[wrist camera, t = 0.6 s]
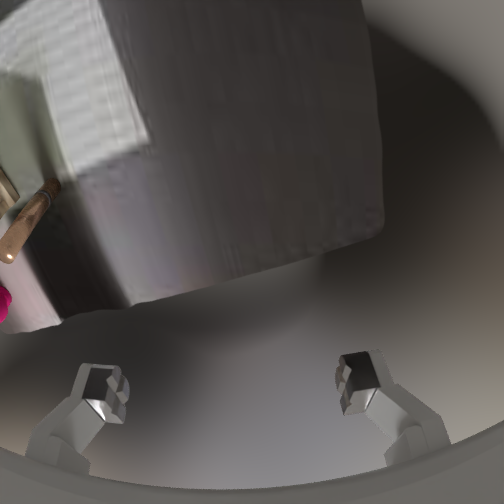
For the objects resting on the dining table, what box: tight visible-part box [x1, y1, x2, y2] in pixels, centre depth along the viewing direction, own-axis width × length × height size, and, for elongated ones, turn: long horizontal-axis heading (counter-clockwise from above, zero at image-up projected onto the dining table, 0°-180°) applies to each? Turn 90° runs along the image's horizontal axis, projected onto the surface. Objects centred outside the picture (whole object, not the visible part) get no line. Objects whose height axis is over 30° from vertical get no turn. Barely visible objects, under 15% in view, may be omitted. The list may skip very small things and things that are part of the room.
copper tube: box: [0, 178, 61, 264], centre depth 37 cm, size 3×3×18 cm
